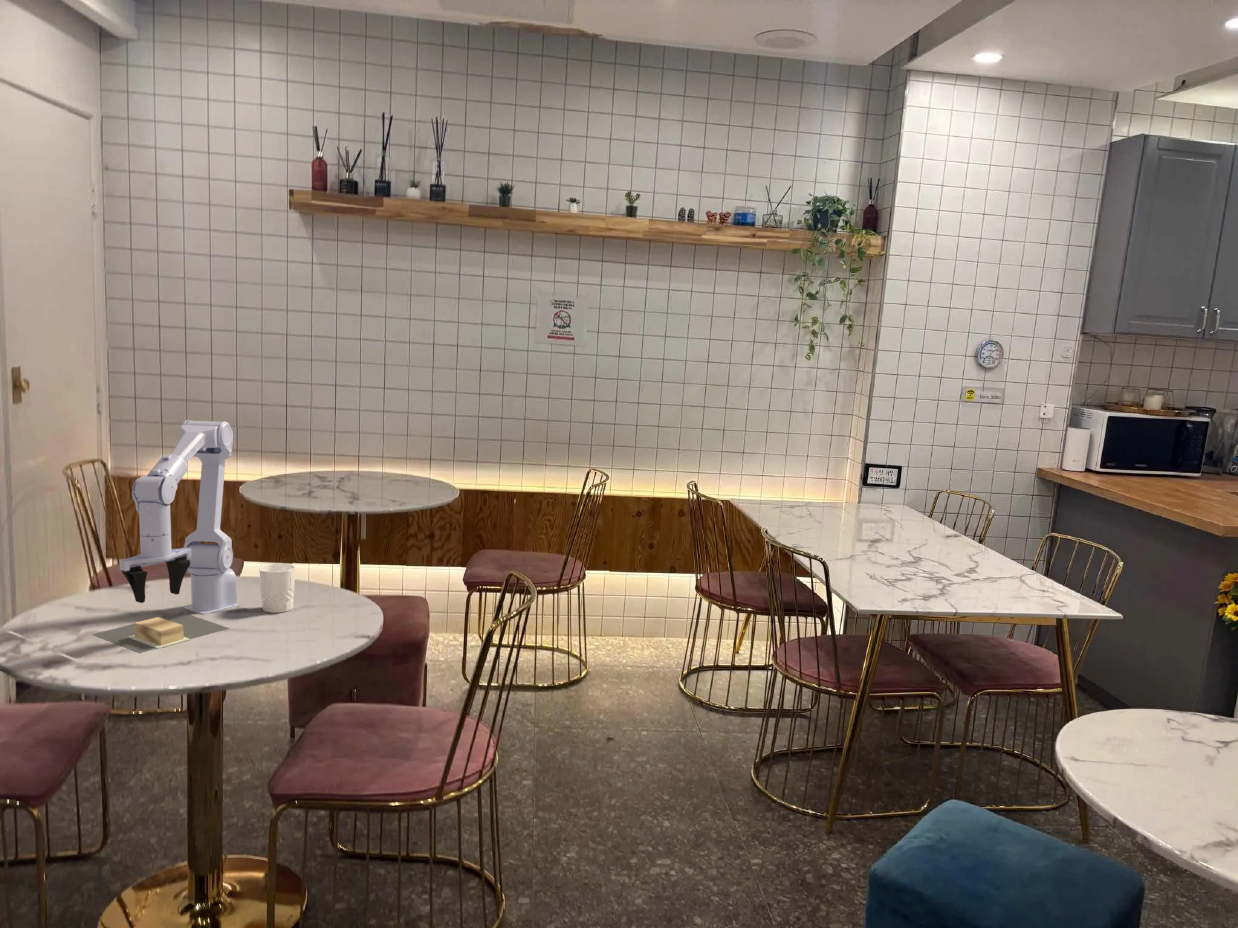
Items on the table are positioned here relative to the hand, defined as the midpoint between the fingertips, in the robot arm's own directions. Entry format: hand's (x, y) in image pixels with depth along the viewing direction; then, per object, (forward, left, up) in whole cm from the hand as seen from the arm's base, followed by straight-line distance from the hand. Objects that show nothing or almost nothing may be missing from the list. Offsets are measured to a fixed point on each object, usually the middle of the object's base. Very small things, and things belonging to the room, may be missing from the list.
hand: (157, 597), depth 189 cm
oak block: (0, 0, -9) cm, 9 cm away
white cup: (-29, 0, -10) cm, 30 cm away
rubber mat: (-3, -4, -9) cm, 11 cm away
